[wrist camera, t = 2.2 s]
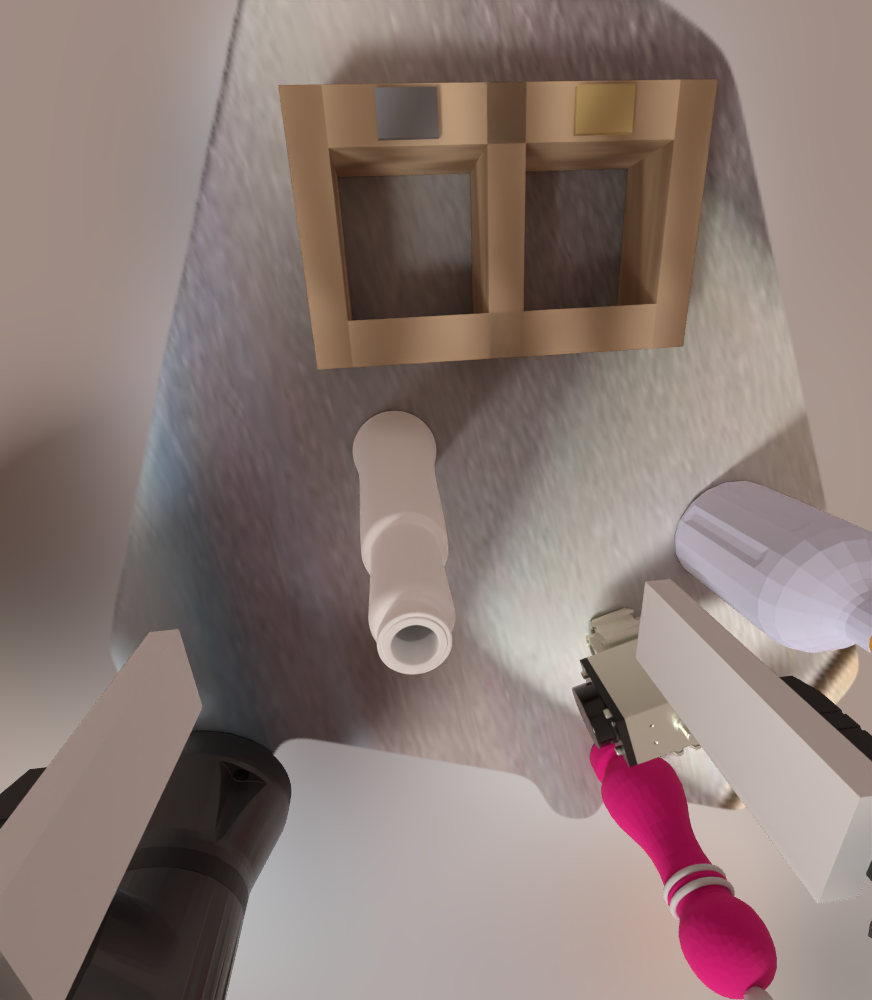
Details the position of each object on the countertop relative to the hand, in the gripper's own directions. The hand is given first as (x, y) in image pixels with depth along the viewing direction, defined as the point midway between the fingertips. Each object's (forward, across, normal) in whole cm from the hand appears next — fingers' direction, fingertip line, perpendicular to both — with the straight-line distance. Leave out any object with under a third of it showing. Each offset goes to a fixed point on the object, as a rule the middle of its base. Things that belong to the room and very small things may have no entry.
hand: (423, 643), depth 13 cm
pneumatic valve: (+22, -18, +18) cm, 34 cm away
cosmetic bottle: (+22, 0, 0) cm, 22 cm away
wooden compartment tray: (+22, -7, -13) cm, 26 cm away
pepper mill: (+22, -20, +33) cm, 45 cm away
